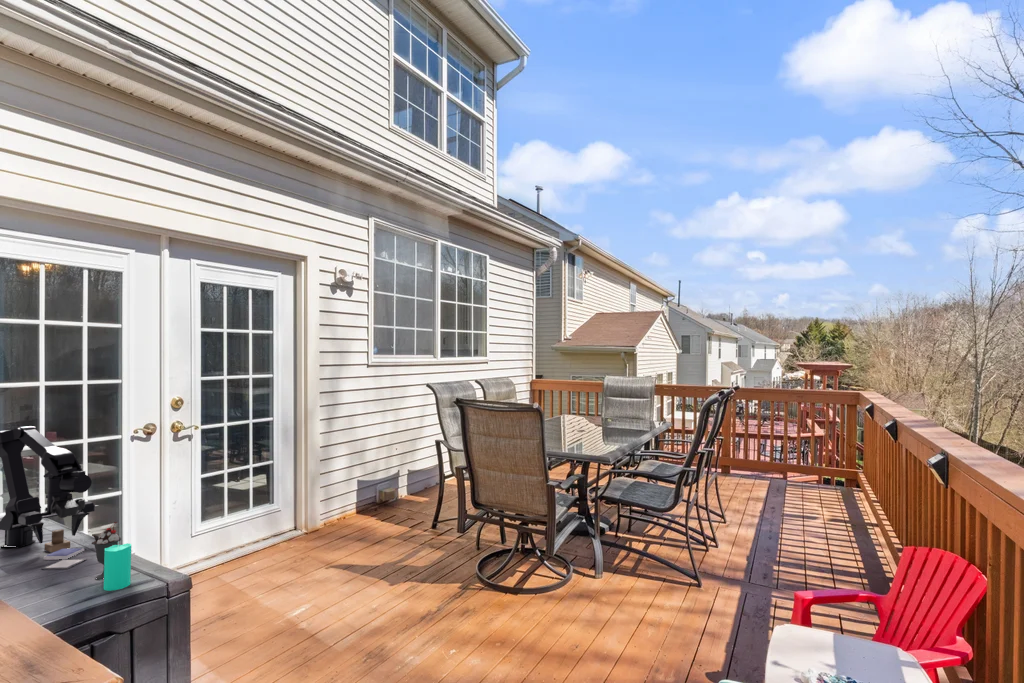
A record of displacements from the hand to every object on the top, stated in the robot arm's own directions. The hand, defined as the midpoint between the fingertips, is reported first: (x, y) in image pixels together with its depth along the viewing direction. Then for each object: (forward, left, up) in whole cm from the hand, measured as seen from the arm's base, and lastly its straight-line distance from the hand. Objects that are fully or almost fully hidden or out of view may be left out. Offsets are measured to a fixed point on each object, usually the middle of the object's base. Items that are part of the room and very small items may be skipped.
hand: (57, 539), depth 175 cm
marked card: (+14, -14, -3) cm, 20 cm away
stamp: (0, 0, -3) cm, 3 cm away
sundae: (+33, -24, -4) cm, 41 cm away
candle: (+41, -31, -4) cm, 52 cm away
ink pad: (+7, -6, -3) cm, 10 cm away
